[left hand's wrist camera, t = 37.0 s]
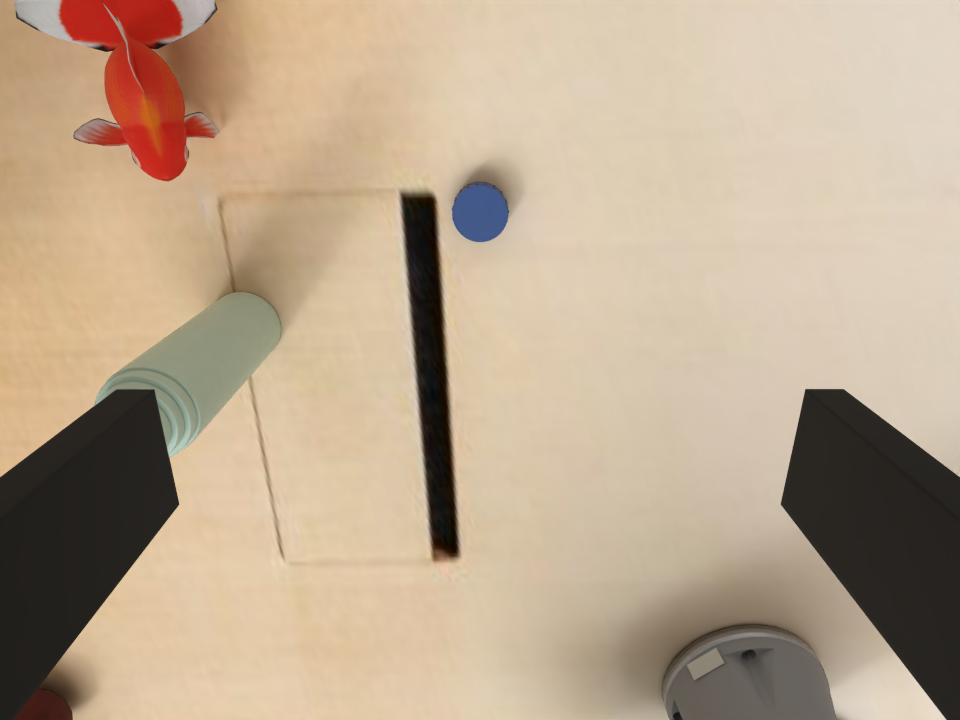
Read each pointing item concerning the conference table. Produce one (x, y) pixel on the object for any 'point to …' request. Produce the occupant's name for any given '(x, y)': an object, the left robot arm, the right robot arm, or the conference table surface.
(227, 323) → the bottle
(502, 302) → the conference table surface
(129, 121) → the fish
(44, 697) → the dark maroon ball
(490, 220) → the cap
